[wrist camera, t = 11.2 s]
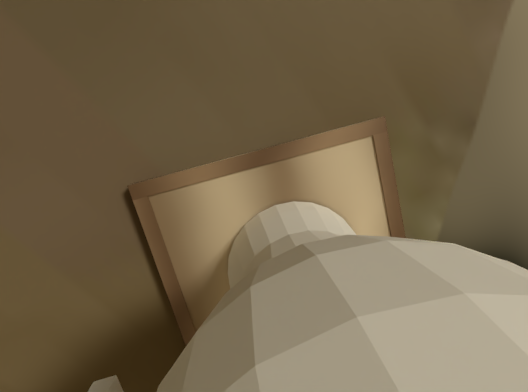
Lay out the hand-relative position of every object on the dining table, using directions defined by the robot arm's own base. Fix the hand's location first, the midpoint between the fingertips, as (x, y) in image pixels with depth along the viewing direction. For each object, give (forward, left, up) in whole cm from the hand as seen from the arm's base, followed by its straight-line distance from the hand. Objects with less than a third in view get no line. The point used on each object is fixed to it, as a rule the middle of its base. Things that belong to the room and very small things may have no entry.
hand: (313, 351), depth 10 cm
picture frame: (0, 0, -7) cm, 8 cm away
